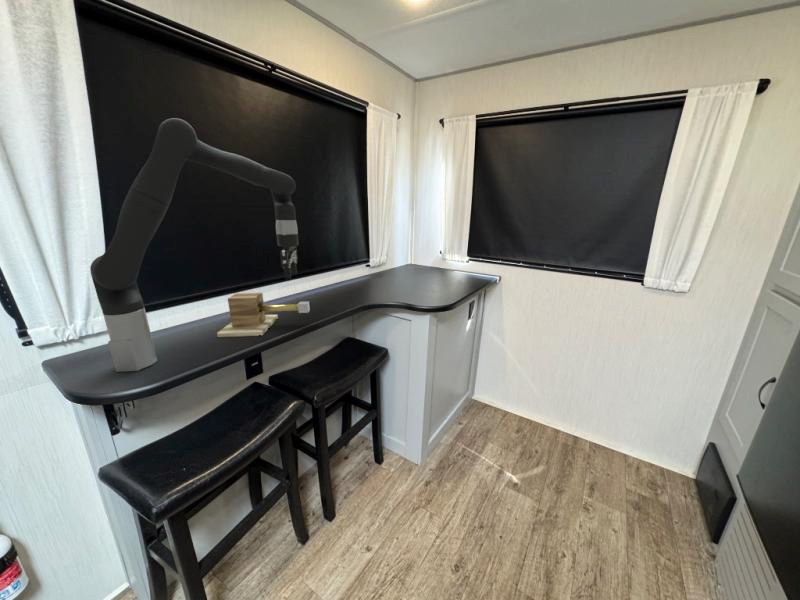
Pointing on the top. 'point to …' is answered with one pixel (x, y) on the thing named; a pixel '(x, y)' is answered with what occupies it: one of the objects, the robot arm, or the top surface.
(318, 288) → the top surface
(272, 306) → the bolt
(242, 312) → the block
